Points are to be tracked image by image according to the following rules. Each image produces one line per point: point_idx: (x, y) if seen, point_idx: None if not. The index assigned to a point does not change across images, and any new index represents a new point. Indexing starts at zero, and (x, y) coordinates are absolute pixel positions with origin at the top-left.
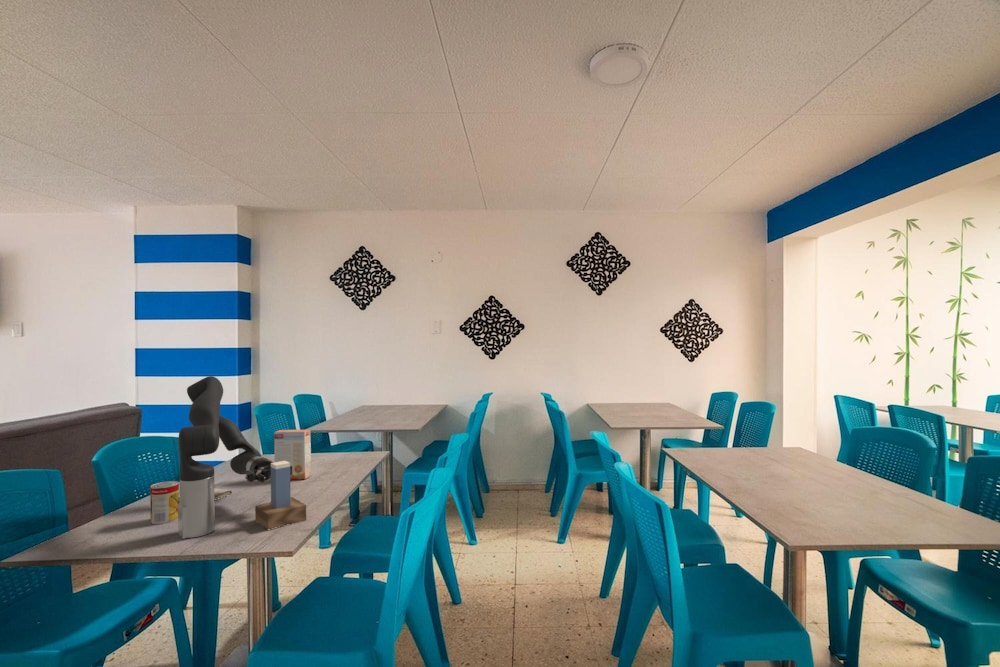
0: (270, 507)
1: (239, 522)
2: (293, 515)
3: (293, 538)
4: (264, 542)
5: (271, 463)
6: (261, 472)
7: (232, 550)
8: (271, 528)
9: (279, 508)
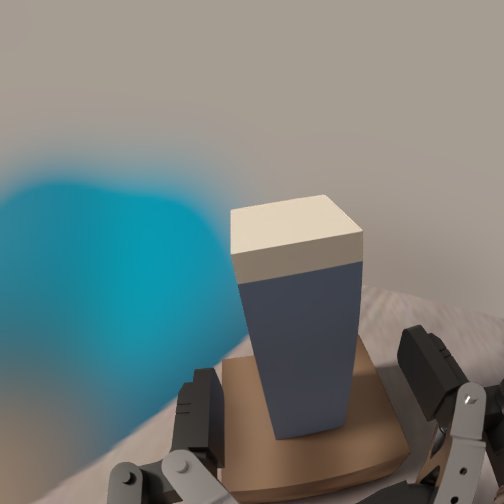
0: (348, 401)
1: None
2: None
3: None
4: (362, 308)
5: (355, 225)
6: (443, 449)
7: (420, 298)
8: None
9: None
